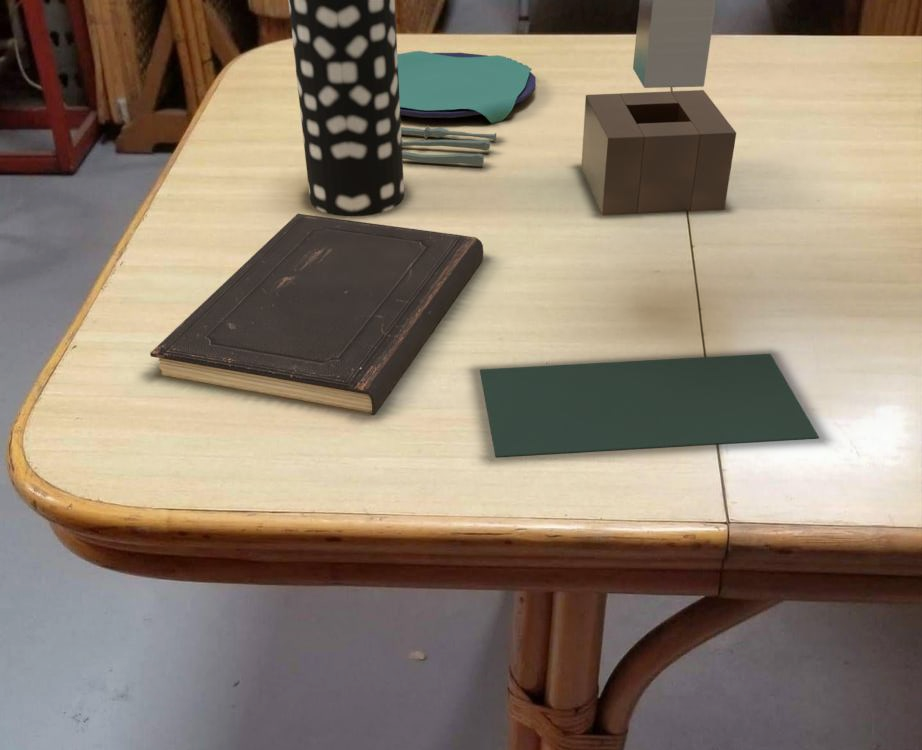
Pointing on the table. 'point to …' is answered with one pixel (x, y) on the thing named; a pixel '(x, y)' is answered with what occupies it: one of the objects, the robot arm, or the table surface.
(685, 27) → the brushed metal bar
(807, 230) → the table surface
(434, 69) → the cutlery set
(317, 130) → the spotted tube
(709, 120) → the holder
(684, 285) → the table surface
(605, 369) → the mat
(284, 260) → the hardcover book
